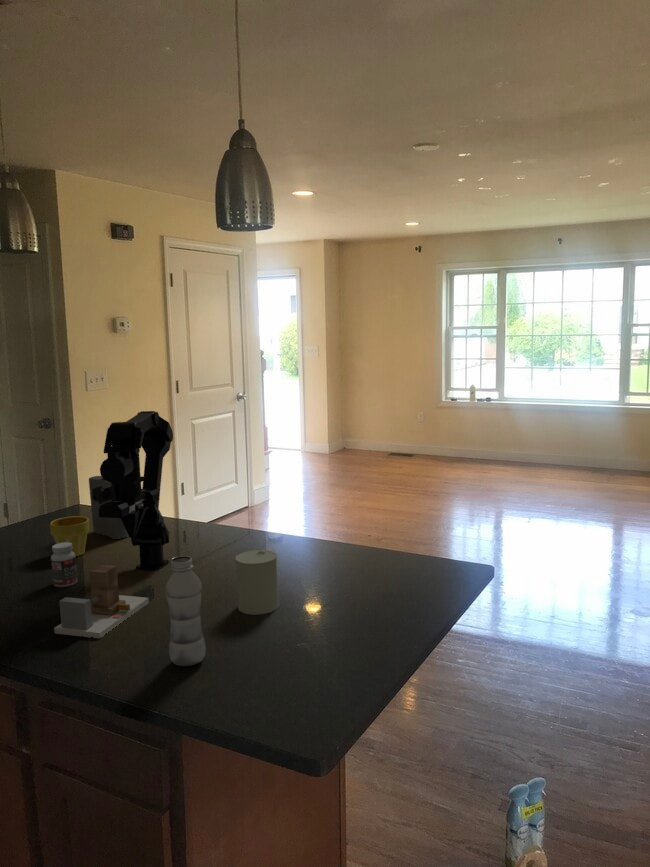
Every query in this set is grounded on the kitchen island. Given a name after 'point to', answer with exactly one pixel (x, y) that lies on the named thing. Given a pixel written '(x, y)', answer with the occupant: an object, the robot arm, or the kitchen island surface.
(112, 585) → the gauge slider
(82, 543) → the plant pot
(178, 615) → the plastic bottle
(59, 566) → the pill bottle
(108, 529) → the flask
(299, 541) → the kitchen island surface
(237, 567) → the can
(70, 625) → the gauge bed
